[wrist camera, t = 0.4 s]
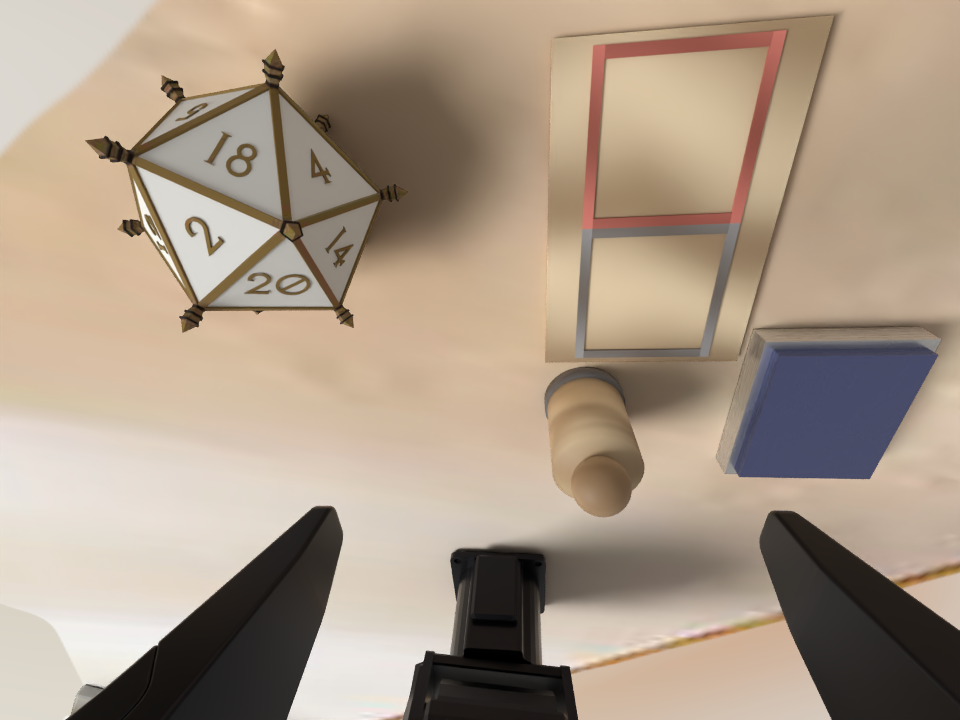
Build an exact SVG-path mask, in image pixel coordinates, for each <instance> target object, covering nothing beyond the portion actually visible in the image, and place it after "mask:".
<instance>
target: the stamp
mask: <svg viewBox="0 0 960 720" xmlns="http://www.w3.org/2000/svg"><path fill="white" fill-rule="evenodd" d="M545 412H546V417H547V419H548V425H549V436H550V448H551V460H552V472H553V478H554V481H555V483H556V485H557V486H558V487H559V489H560V490H561V491H563V492H564V493H565V494H567V495H568V496H570V497H572V498H574V499H575V501H576V502H577V504H578V505H579V506H580V507H581V508H582V509H583V510H584V511H586V512H587V513H589V514H591V515H594V516H598V517H609V516H613V515H615V514H618V513H619V512H621V511H622V510H623V509H624V508H625V507H626V505H627V504H628V502H629V500H630V497H631V493H632V490H633V489H635V488H636V486H637V485H638V484H639V483H640V481H641V479H642V477H643V474H644V462H643V459H642V456H641V453H640V450H639V447H638V444H637V441H636V438H635V435H634V432H633V429H632V426H631V423H630V421H629V418H628V415H627V412H626V409H625V400H624V396H623V393H622V390H621V388H620V385H619V383H618V382H617V381H616V379H615V378H614V377H613V376H611V375H610V374H609V373H607V372H605V371H603V370H601V369H597V368H592V367H579V368H574V369H571V370H568V371H565V372H563V373H562V374H560V375H559V376H557V377H556V378H555V379H554V380H553V381H552V382H551V383H550V385H549V386H548V388H547V390H546V393H545Z"/></svg>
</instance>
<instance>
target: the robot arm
mask: <svg viewBox="0 0 960 720" xmlns="http://www.w3.org/2000/svg"><path fill="white" fill-rule="evenodd" d="M342 542H343V531H342V527H341V524H340V521H339V518H338V515H337V512H336V510H335V508H334V507H332V506H316V507H314V508H312V509H311V510H310V511H309V512H307V513H306V514H305V515H304V516H303V517H302V518H300V519H299V520H298V521H297V522H296V523H295V524H294V525H292V526H291V527H290V528H289V529H288V530H287V531H286V532H284V533H283V534H282V535H281V536H280V537H279V538H278V539H276V540H275V541H274V542H273V543H272V544H271V545H269V546H268V547H267V548H266V549H265V550H264V551H263V552H261V553H260V554H259V555H258V556H257V557H256V558H255V559H253V560H252V561H251V562H250V563H249V564H248V565H247V566H245V567H244V568H243V569H242V570H241V571H240V572H239V573H237V574H236V575H235V576H234V577H233V578H232V579H230V580H229V581H228V582H227V583H226V584H225V585H224V586H222V587H221V588H220V589H219V590H218V591H217V592H216V593H214V594H213V595H212V596H211V597H210V598H209V599H208V600H206V601H205V602H204V603H203V604H202V605H201V606H200V607H198V608H197V609H196V610H195V611H194V612H193V613H191V614H190V615H189V616H188V617H187V618H186V619H185V620H183V621H182V622H181V623H180V624H179V625H178V626H177V627H175V628H174V629H173V630H172V631H171V632H170V633H169V634H167V635H166V636H165V637H164V638H163V639H162V640H161V641H159V643H158V646H157V645H156V646H153V647H152V648H151V649H150V650H149V651H148V652H147V653H145V654H144V655H143V656H142V657H141V658H140V659H138V660H137V661H136V662H135V663H134V664H133V665H132V666H130V667H129V668H128V669H127V670H126V671H124V672H123V673H122V674H121V675H120V676H119V677H117V678H116V679H115V680H114V681H113V682H111V683H110V684H109V685H108V686H107V687H106V688H104V689H103V690H102V691H101V692H100V693H98V694H97V695H96V696H94V697H93V698H92V699H91V700H89V701H88V702H87V703H86V704H84V705H83V706H82V707H81V708H79V709H78V710H77V711H76V712H74V713H73V714H72V715H71V716H69V717H68V718H67V719H66V720H287V717H288V714H289V711H290V708H291V706H292V703H293V700H294V697H295V695H296V692H297V689H298V686H299V683H300V681H301V678H302V675H303V672H304V669H305V667H306V664H307V661H308V658H309V655H310V653H311V650H312V647H313V644H314V642H315V639H316V636H317V633H318V630H319V628H320V625H321V622H322V619H323V616H324V613H325V609H326V606H327V602H328V598H329V594H330V590H331V586H332V582H333V578H334V574H335V570H336V566H337V562H338V558H339V554H340V550H341V546H342ZM759 543H760V549H761V552H762V555H763V558H764V561H765V564H766V566H767V569H768V572H769V575H770V578H771V580H772V583H773V586H774V589H775V592H776V594H777V597H778V600H779V603H780V606H781V608H782V611H783V614H784V617H785V619H786V622H787V624H788V627H789V629H790V632H791V634H792V636H793V639H794V641H795V643H796V645H797V647H798V649H799V652H800V654H801V656H802V658H803V660H804V662H805V664H806V666H807V668H808V671H809V672H810V675H811V677H812V679H813V681H814V683H815V685H816V687H817V690H818V692H819V694H820V696H821V698H822V700H823V702H824V704H825V706H826V709H827V711H828V713H829V715H830V717H831V719H832V720H960V630H958V629H957V628H955V627H954V626H953V625H951V624H950V623H949V622H947V621H945V620H944V619H943V618H942V617H940V616H939V615H937V614H936V613H934V612H933V611H932V610H931V609H929V608H928V607H926V606H925V605H923V604H922V603H921V602H919V601H918V600H917V599H915V598H914V597H913V596H911V595H910V594H908V593H907V592H905V591H904V590H903V589H901V588H900V587H899V586H897V585H896V584H895V583H893V582H892V581H890V580H889V579H888V578H886V577H885V576H883V575H882V574H881V573H879V572H878V571H877V570H875V569H874V568H872V567H871V566H870V565H868V564H867V563H865V562H864V561H863V560H861V559H860V558H859V557H857V556H856V555H854V554H853V553H852V552H850V551H849V550H847V549H846V548H845V547H843V546H842V545H840V544H839V543H838V542H836V541H835V540H834V539H832V538H831V537H829V536H828V535H827V534H825V533H824V532H822V531H821V530H820V529H818V528H817V527H816V526H814V525H813V524H811V523H810V522H809V521H807V520H806V519H804V518H803V517H802V516H800V515H799V514H797V513H795V512H793V511H771V512H770V513H769V514H768V516H767V519H766V521H765V524H764V527H763V530H762V533H761V536H760V542H759ZM450 562H451V568H452V575H453V582H454V588H455V595H456V601H457V604H456V612H455V620H454V628H453V636H452V644H451V651H450V655H446V654H437V653H435V651H426V653H425V658H424V661H423V662H421V663H419V664H416V665H415V671H414V676H413V681H412V687H411V692H410V696H409V700H408V703H407V707H406V710H405V713H404V716H403V720H578V716H577V710H576V704H575V697H574V691H573V684H572V678H571V672H570V667H569V666H562V665H560V667H555V666H546V665H542V648H541V621H540V614H541V613H543V612H544V606H545V570H546V562H545V557H544V556H543V555H540V554H516V553H487V552H453V553H452V554H451V560H450Z"/></svg>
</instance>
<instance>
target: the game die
mask: <svg viewBox="0 0 960 720" xmlns="http://www.w3.org/2000/svg"><path fill="white" fill-rule="evenodd" d="M262 62H263V63H264V69H262V71H263V72H264V73H265V77H266V82H265V83H263V84H257V85H252V86H247V87H241V88H236V89H230V90H225V91H220V92H214V93H209V94H203V95H198V96H193V97H187V98H185V97H184V95H183V89H182V88H180V87H179V85H178V81H173V80H171V79H169V78H166V77H164V76H162V87H161V90H162V91H164V92H166V93H167V95H166V96H167V97H169V98H170V99H172V100H174V101H175V102H176V104H175V105H174V106H173V107H172V108H171V109H170V110H169V111H168V112H167V113H166V114H165V115H164V116H163V117H162V118H161V119H160V120H159V121H158V122H157V123H156V124H155V125H154V126H153V127H152V128H151V129H150V131H149V132H148V133H147V134H146V135H145V136H144V137H143V138H142V139H141V140H140V141H139V142H138V143H137V144H136V145H135V146H134V147H133V148H132V149H131V150H126V149H125V148H123V147H122V146H121V145H120V143H119V142H117V141H116V142H113V141H111V140H109V138H108V137H107V136H105V137H104V138H102V139H94V140H86V142H87V143H88V144H89V145H90V146H91V147H92V148H93V149H94V150H95V152H96V153H97V154H98V155H99V158H100V159H110V162H124V163H125V164H127V168H128V172H129V176H130V180H131V184H132V189H133V193H134V197H135V201H136V205H137V209H138V213H139V217H140V222H139V220H132V219H131V220H130V221H128V220H123V223H122V224H121V226H120V227H119V228H118V229H117V230H120V231H122V232H124V233H126V234H128V235H129V236H131V237H133V236H134V235H136V234H137V235H138V236H139V235H140V234H141V233H142V232H144V231H145V232H146V234H147V235H148V237H149V238H150V240H151V241H152V243H153V245H154V246H155V248H156V249H157V251H158V252H159V254H160V255H161V257H162V258H163V260H164V261H165V263H166V264H167V266H168V267H169V269H170V270H171V272H172V273H173V275H174V276H175V278H176V279H177V281H178V282H179V284H180V285H181V287H182V288H183V290H184V291H185V293H186V294H187V296H188V297H189V299H190V300H191V302H192V303H193V306H192V307H191V308H190V309H188V310H185V311H184V312H185V314H184V315H183V316H180V317H179V318H180V319H181V323H182V332H186V331H188V330H190V329H192V328H194V327H199V321H202V319H203V317H202V314H203V312H204V311H254V312H255V313H256V314H257V315H258V314H259V313H260V312H262V311H269V310H334V311H335V312H336V314H337V317H336V318H337V319H338V318H339V320H340V321H341V323H340V324H345V325H347V326H350V327H352V328H354V325H353V316H354V315H353V314H352V315H351V314H350V312H349V311H350V310H349V309H348V310H347V309H345V308H344V307H343V305H342V304H343V301H344V298H345V296H346V293H347V291H348V288H349V286H350V283H351V280H352V278H353V275H354V273H355V270H356V267H357V265H358V262H359V260H360V257H361V254H362V252H363V249H364V247H365V244H366V241H367V239H368V236H369V234H370V231H371V228H372V226H373V223H374V221H375V218H376V216H377V213H378V210H379V208H380V205H381V203H382V200H389V201H390V202H392V200H396V201H399V199H400V198H401V197H402V196H403V195H405V194H406V193H407V191H405V190H403V189H401V188H399V187H397V186H396V185H395V184H394V186H392V187H389V186H387V188H385V189H383V190H381V189H379V188H378V187H377V186H376V185H375V184H374V183H373V182H372V181H371V180H370V179H369V178H368V177H367V176H366V175H365V174H364V173H363V172H362V171H361V169H360V168H359V167H358V166H357V165H356V164H355V163H354V162H353V161H352V160H351V159H350V158H349V157H348V156H347V155H346V154H345V153H344V152H343V151H342V150H341V149H340V148H339V147H338V146H337V145H336V144H335V143H334V142H333V141H332V140H331V139H330V138H329V137H328V136H327V135H326V134H325V133H324V132H327V131H328V130H327V129H328V128H330V127H331V126H330V123H329V119H328V115H322V116H321V115H318V117H317V119H316V120H315V122H314V121H313V120H312V119H311V118H310V117H309V116H308V115H307V114H306V113H305V112H304V111H303V110H302V109H301V108H300V107H299V106H298V105H297V104H296V103H295V102H294V101H293V100H292V99H291V98H290V97H289V96H288V95H287V94H286V93H285V92H284V91H283V90H282V89H281V88H280V87H279V82H280V80H282V78H283V74H282V71H283V70H284V67H285V66H284V65H282V63H281V61H280V58H279V56H278V54H277V52H276V49H275V50H274V51H273V52H272V53H271V54H270V55H269V56H268V57H267V58H266V59H265V60H262Z"/></svg>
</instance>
